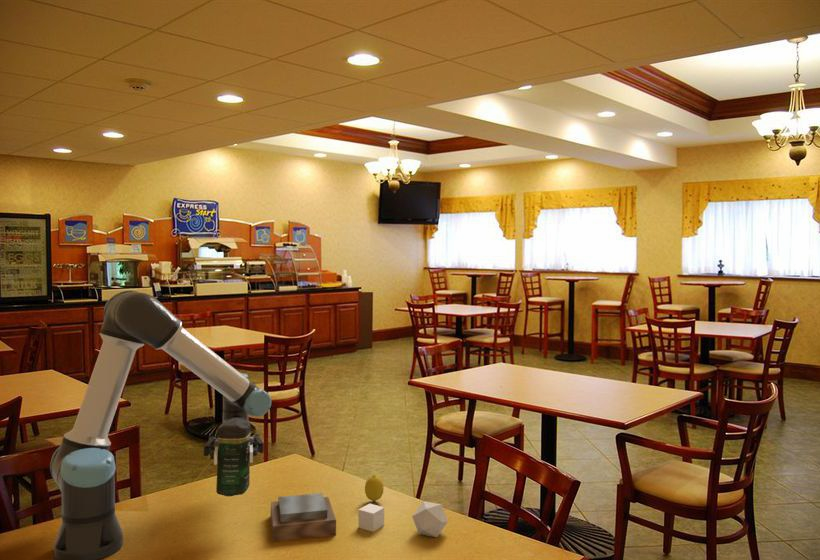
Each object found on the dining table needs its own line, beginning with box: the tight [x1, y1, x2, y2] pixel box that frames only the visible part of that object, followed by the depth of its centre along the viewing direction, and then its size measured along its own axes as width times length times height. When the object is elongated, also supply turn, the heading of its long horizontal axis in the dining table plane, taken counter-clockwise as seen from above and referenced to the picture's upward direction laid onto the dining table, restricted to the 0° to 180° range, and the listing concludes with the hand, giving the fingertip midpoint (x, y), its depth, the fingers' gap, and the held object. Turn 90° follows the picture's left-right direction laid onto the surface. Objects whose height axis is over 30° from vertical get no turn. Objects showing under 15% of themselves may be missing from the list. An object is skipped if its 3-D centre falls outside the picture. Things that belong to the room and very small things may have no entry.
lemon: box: [364, 474, 385, 503], centre depth 183 cm, size 6×6×8 cm
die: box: [411, 500, 449, 538], centre depth 163 cm, size 8×9×10 cm
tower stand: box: [270, 492, 337, 543], centre depth 167 cm, size 16×16×6 cm
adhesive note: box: [358, 503, 385, 533], centre depth 167 cm, size 5×5×5 cm
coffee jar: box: [215, 418, 252, 497], centre depth 162 cm, size 10×8×19 cm
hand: (233, 458), depth 157 cm, fingers closed on coffee jar, 8 cm apart
